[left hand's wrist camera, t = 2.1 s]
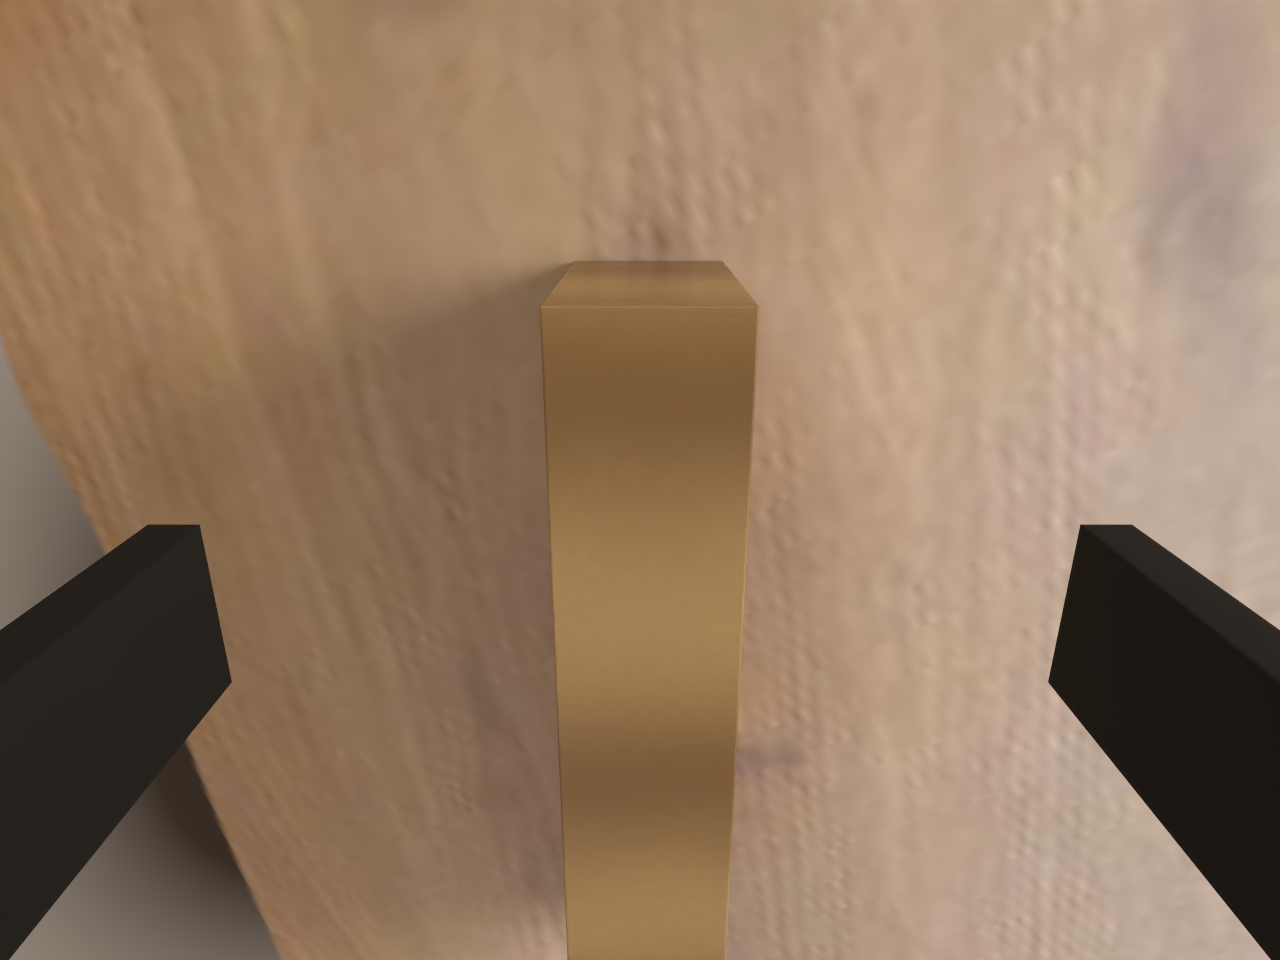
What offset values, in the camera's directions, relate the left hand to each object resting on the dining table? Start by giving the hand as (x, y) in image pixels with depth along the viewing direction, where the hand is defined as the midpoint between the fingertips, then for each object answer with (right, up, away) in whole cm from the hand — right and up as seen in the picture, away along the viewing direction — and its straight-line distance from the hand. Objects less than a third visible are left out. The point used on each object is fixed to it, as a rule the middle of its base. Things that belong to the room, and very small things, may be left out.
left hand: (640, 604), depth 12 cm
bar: (0, -3, +16) cm, 16 cm away
